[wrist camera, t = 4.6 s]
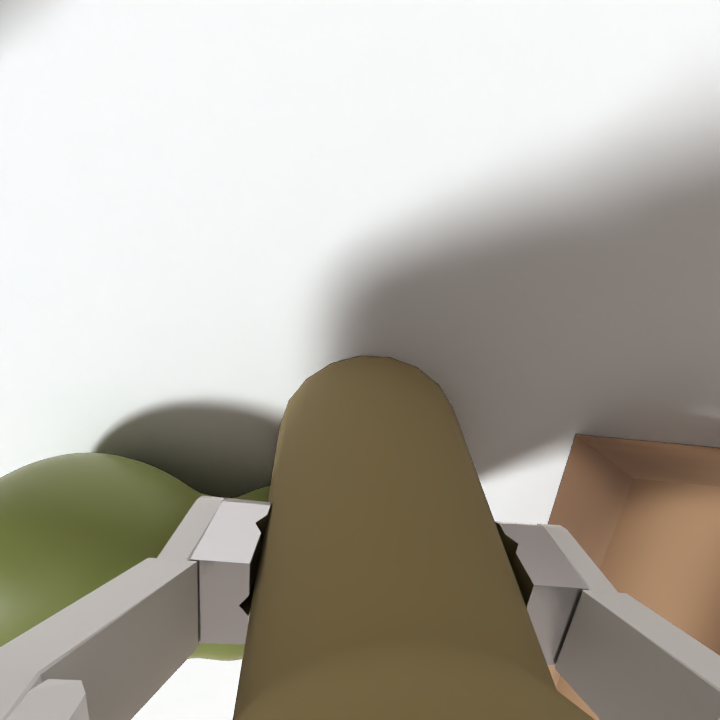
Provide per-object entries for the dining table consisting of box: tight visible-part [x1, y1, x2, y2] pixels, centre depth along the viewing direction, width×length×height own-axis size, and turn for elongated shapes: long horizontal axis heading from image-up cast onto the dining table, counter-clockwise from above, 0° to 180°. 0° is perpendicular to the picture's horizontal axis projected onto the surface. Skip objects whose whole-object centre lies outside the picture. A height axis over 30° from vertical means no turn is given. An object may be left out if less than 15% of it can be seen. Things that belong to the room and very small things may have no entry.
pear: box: [0, 453, 270, 661], centre depth 10 cm, size 6×5×10 cm
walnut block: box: [548, 434, 720, 720], centre depth 12 cm, size 12×12×2 cm
